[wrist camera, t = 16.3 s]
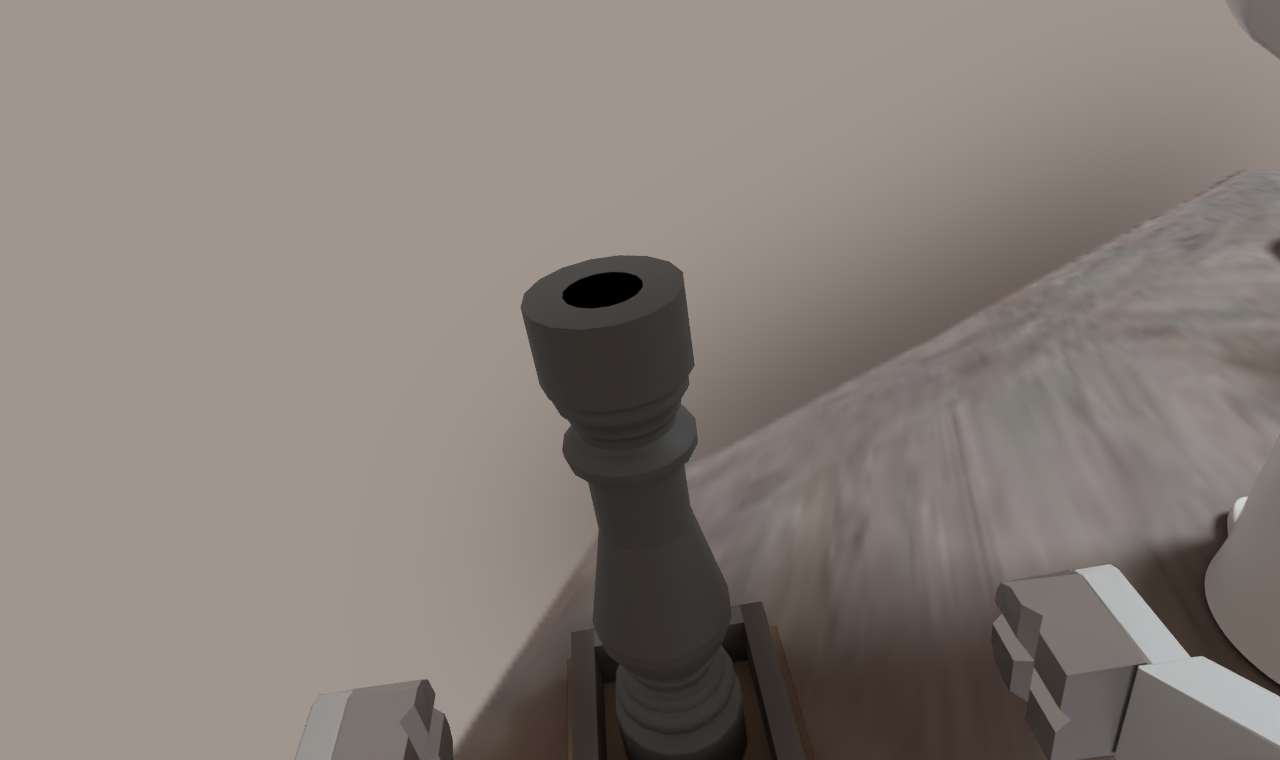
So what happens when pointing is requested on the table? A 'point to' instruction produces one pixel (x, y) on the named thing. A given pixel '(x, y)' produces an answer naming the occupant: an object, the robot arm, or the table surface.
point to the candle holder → (641, 499)
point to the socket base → (758, 661)
